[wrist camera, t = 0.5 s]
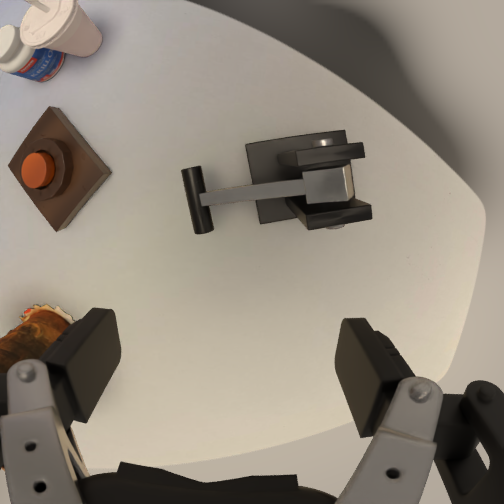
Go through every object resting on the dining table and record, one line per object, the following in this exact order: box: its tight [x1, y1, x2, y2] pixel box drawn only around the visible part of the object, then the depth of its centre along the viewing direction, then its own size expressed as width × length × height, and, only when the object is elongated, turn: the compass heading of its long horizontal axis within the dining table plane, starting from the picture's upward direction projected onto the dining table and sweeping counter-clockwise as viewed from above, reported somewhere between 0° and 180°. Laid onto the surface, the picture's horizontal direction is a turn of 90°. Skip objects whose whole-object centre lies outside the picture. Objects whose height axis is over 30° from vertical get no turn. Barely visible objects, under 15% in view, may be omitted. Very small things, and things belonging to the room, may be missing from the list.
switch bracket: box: [245, 130, 372, 230], centre depth 25 cm, size 10×8×13 cm
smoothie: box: [20, 0, 102, 57], centre depth 19 cm, size 6×6×14 cm
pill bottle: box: [0, 25, 64, 82], centre depth 21 cm, size 6×5×10 cm
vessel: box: [0, 304, 75, 471], centre depth 27 cm, size 14×14×20 cm
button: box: [22, 152, 55, 188], centre depth 26 cm, size 4×4×2 cm
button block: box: [8, 106, 112, 232], centre depth 28 cm, size 11×9×4 cm
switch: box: [181, 164, 354, 234], centre depth 23 cm, size 13×6×2 cm, turn 101°
